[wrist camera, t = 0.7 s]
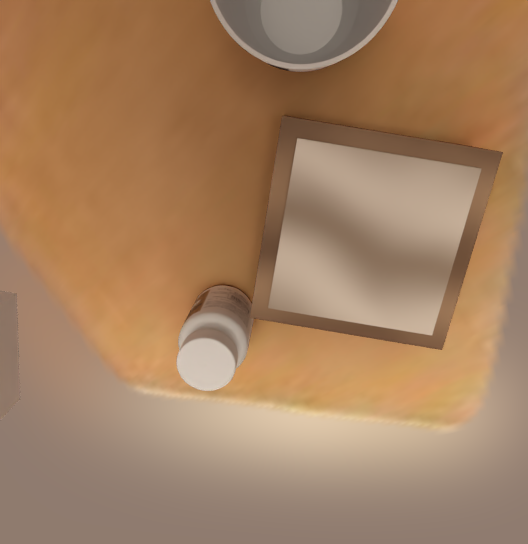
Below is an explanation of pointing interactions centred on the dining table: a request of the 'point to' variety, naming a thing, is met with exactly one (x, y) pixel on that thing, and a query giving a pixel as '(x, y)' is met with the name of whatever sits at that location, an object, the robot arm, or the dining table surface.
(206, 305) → the pill bottle
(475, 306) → the dining table surface
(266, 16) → the cup
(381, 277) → the pedestal
